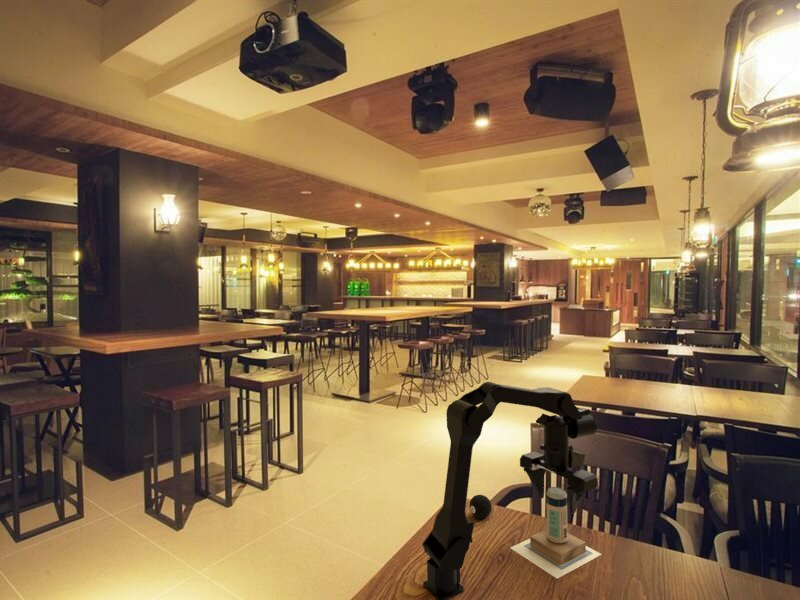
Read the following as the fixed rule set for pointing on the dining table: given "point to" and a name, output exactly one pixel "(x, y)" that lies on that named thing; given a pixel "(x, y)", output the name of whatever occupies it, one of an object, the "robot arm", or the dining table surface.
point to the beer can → (556, 515)
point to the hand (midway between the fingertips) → (556, 505)
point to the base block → (558, 547)
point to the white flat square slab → (549, 564)
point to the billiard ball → (480, 506)
